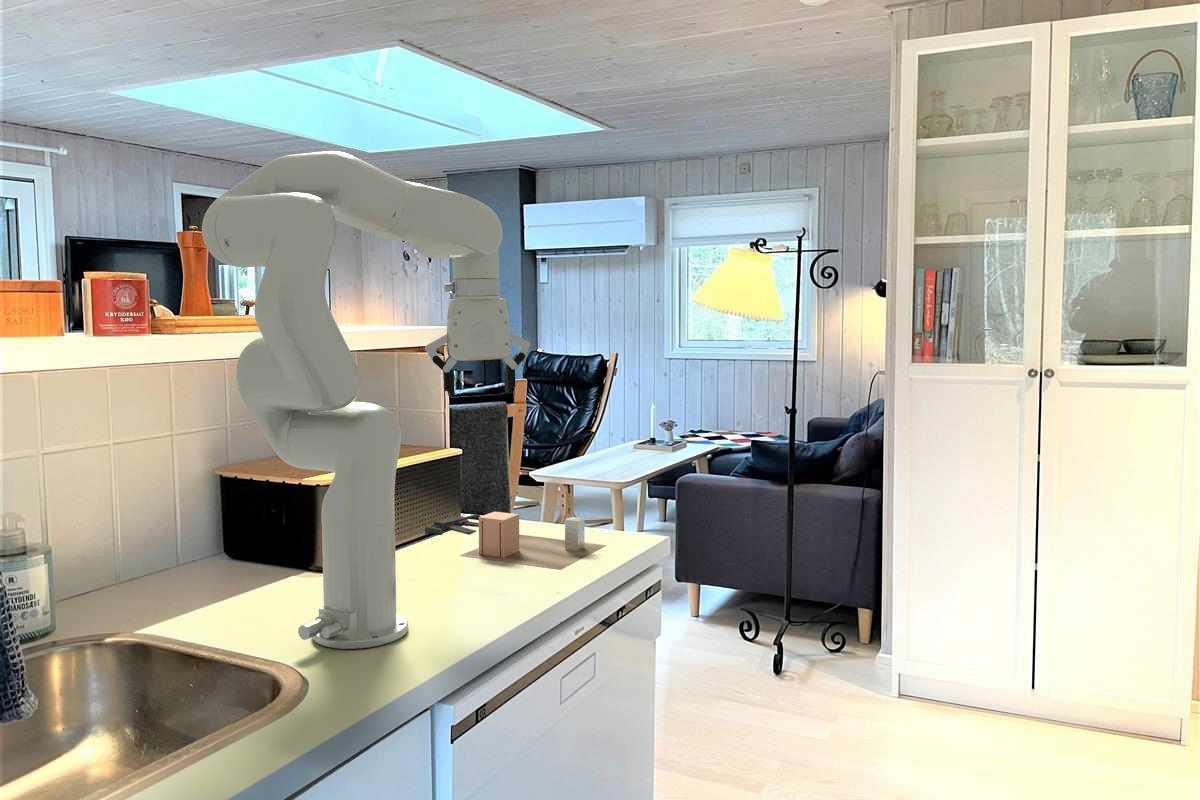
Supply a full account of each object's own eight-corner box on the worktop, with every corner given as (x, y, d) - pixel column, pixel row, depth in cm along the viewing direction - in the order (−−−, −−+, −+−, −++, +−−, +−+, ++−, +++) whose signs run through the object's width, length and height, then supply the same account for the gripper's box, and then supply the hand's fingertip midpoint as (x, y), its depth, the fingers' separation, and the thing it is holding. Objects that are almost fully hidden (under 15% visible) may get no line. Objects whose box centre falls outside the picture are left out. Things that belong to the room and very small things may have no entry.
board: (560, 578, 147) (560, 569, 147) (459, 563, 156) (459, 555, 156) (606, 553, 163) (606, 545, 163) (513, 541, 172) (513, 533, 172)
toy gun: (524, 519, 186) (462, 509, 191) (479, 532, 168) (412, 521, 174) (523, 534, 186) (461, 523, 191) (478, 548, 168) (411, 536, 174)
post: (577, 559, 159) (577, 521, 158) (565, 557, 160) (565, 519, 159) (584, 556, 161) (584, 518, 160) (571, 554, 162) (571, 516, 162)
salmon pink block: (504, 557, 154) (503, 520, 154) (478, 553, 157) (478, 517, 156) (519, 550, 159) (519, 514, 159) (494, 547, 161) (494, 511, 161)
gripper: (425, 291, 139) (430, 399, 141) (533, 289, 144) (536, 394, 146) (420, 291, 146) (424, 394, 148) (523, 289, 151) (525, 389, 153)
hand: (480, 394), depth 147 cm, fingers open, 9 cm apart
